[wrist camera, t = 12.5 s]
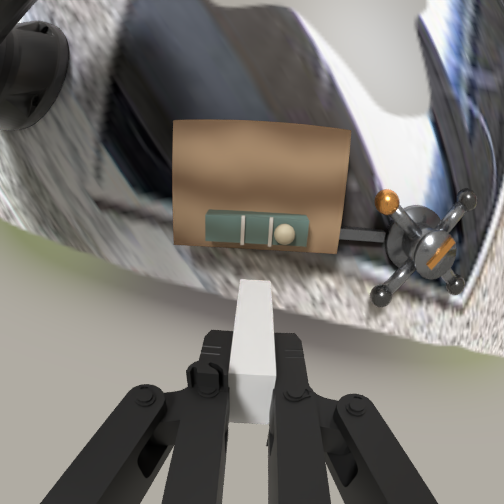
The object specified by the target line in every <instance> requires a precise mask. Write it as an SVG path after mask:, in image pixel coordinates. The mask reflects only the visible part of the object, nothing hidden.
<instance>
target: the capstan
mask: <svg viewBox="0 0 504 504" xmlns="http://www.w3.org/2000/svg"><path fill="white" fill-rule="evenodd" d="M476 204H477V197H476V194H475V193H474V192H473V191H472V190H471V189H468V188H465V189H462V190H460V191H459V193H458V195H457V202H456V203H455V205H454V206H453V207H452V208H451V209H450V211H449V212H448V213H447V214H446V216H445V217H444V218H443V219H442V220H441V222H440V223H439V224H438V225H437V226H436V227H435V229H434V228H433V227H431V226H430V225H428V224H426V223H423V222H418V223H415V222H414V221H413V220H412V218H411V217H410V216H409V215H408V214H407V213H406V211H405V210H404V209H403V208H402V207H401V206H400V205H399V198H398V196H397V194H396V193H395V192H394V191H392V190H389V189H384V190H381V191H380V192H378V194H377V195H376V197H375V206H376V208H377V210H378V211H379V212H380V213H382V214H384V215H389V216H390V217H391V218H392V219H393V220H394V221H395V222H396V224H397V225H398V226H399V227H400V228H401V229H402V230H403V231H404V232H405V233H404V235H403V238H402V250H403V252H404V254H405V255H406V256H407V257H408V259H407V260H406V261H405V262H404V263H403V264H402V265H401V266H400V267H399V268H398V269H397V270H396V272H395V273H394V274H393V275H392V276H391V277H390V278H389V279H388V280H387V281H386V282H385V283H384V284H383V285H382V284H380V285H377V286H375V287H374V288H373V289H372V290H371V293H370V300H371V302H372V303H373V305H375V306H377V307H385V306H387V305H388V304H389V303H390V301H391V299H392V294H393V293H394V292H395V291H396V290H397V289H398V288H399V287H400V286H401V285H402V284H403V283H404V282H405V281H406V280H407V279H408V278H409V277H410V276H411V275H412V274H413V273H414V272H415V270H417V272H418V273H419V274H420V275H421V276H422V277H424V278H426V279H436V278H439V277H442V278H443V279H444V281H445V282H446V289H447V291H448V292H449V293H450V294H452V295H458V294H460V293H461V292H462V291H463V289H464V286H465V283H464V280H463V278H462V277H461V276H460V275H458V274H455V273H454V272H453V270H452V269H451V266H452V264H453V262H454V260H455V257H456V243H455V241H454V239H453V237H452V236H451V235H450V234H448V233H449V232H450V231H451V230H452V229H453V227H454V226H455V225H456V224H457V223H458V221H459V220H460V219H461V218H462V216H463V215H464V214H465V213H466V211H471V210H473V209H474V208H475V206H476Z"/></svg>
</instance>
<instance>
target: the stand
mask: <svg viewBox="0 0 504 504" xmlns="http://www.w3.org/2000/svg"><path fill="white" fill-rule="evenodd" d="M350 140H351V130H345V129H338V128H330V127H322V126H314V125H304V124H294V123H282V122H267V121H248V120H173V157H172V194H173V235H174V245H188V246H207V247H225V248H243V249H260V250H278V251H296V252H313V253H330V254H337V248H338V242H339V235H340V228H341V221H342V214H343V206H344V198H345V190H346V181H347V172H348V162H349V151H350Z"/></svg>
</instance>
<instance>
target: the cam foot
mask: <svg viewBox="0 0 504 504" xmlns="http://www.w3.org/2000/svg"><path fill="white" fill-rule="evenodd" d="M404 210H405V211H406V213H407V214H408V215H409V216H410V217H411V218H412V220H413V221H414V222H415V223H418V222H423V223H426V224H428V225H430V226H431V227H433V228H434V229H435V227H436V226H437V225H438V224H439V223H440V222H441V220H440V218H439V217H438V215H437V214H436V213H435V212H434V211H432V210H430V209H428V208H427V207H424V206H421V205H412V206H408V207H406V208H404ZM385 233H386V234H385ZM404 233H405V232H404V231H403V230H402V229H401V228H400V227H399V226H398V225H397V224H396V222H395V221H394V220H393V219H392V220H391V222H390V223H389V225H388V228H387V230H386V232H385V231H384V230H381V229H370V228H358V227H346V226H341V228H340V235H339V239H344V240H358V241H372V242H384V238H385V249H386V252H387V255H388V256H389V258H390V259H391V261H392V262H393V263H394V264H395V265H396V266H397V267H400V266H401V265H402V264H403V263H404V262H405V261H406V260H407V259H408V257H407V256H406V255H405V254H404V252H403V250H402V238H403V235H404ZM415 271H416V270H415Z"/></svg>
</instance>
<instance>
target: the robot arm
mask: <svg viewBox="0 0 504 504" xmlns="http://www.w3.org/2000/svg"><path fill="white" fill-rule="evenodd" d="M36 1H37V0H0V129H2V130H8V131H10V130H20V129H24V128H27V127H29V126H31V125H33V124H35V123H36V122H37V121H38V120H40V119H41V118H42V117H43V116H44V115H45V113H46V112H47V111H48V110H49V108H50V107H51V106H52V104H53V102H54V101H55V99H56V97H57V95H58V93H59V91H60V89H61V87H62V84H63V81H64V78H65V75H66V71H67V65H68V45H67V41H66V38H65V36H64V34H63V32H62V31H61V30H60V29H59V28H58V27H56V26H55V25H52V24H49V23H47V22H43V21H30V22H23V23H18V22H19V21H20V19H21V18H22V17H23V16H24V15H25V13H26V12H27V11H28V10H29V9H30V8H31V7H32V6H33V5H34V3H35V2H36ZM186 375H187V383H188V387H187V388H185V389H183V390H181V391H175V392H167V393H163V391H162V390H161V389H160V388H158V387H156V386H154V385H149V384H144V385H139V386H136V387H134V388H132V389H131V390H130V391H129V392H128V393H127V394H126V396H125V397H124V398H123V399H122V401H121V402H120V403H119V405H118V406H117V407H116V408H115V409H114V411H113V412H112V413H111V414H110V416H109V417H108V418H107V419H106V421H105V422H104V423H103V424H102V426H101V427H100V428H99V429H98V431H97V432H96V433H95V434H94V436H93V437H92V438H91V440H90V441H89V442H88V443H87V445H86V446H85V447H84V448H83V450H82V451H81V452H80V453H79V455H78V456H77V457H76V459H75V460H74V461H73V462H72V464H71V465H70V466H69V467H68V469H67V470H66V471H65V472H64V474H63V475H62V476H61V477H60V479H59V480H58V481H57V483H56V484H55V485H54V487H53V488H52V489H51V490H50V491H49V493H48V494H47V495H46V497H45V498H44V499H43V501H42V502H41V503H40V504H140V503H141V501H142V499H143V498H144V496H145V494H146V493H147V491H148V489H149V487H150V486H151V484H152V482H153V481H154V479H155V477H156V476H157V474H158V472H159V470H160V469H161V467H162V465H163V464H164V462H165V460H166V458H167V457H168V455H169V453H170V451H171V450H172V448H173V446H174V450H173V454H172V459H171V463H170V468H169V472H168V476H167V481H166V486H165V490H164V495H163V500H162V504H222V495H223V485H224V474H225V463H226V451H227V441H228V423H229V422H234V423H252V424H269V434H268V440H267V445H266V446H268V495H269V496H268V500H269V501H268V504H331V500H330V493H329V485H328V478H327V471H326V464H327V466H328V469H329V471H330V473H331V475H332V477H333V480H334V482H335V484H336V486H337V488H338V490H339V492H340V494H341V497H342V499H343V501H344V503H345V504H438V503H437V501H436V500H435V498H434V496H433V495H432V493H431V492H430V490H429V489H428V487H427V485H426V484H425V482H424V481H423V479H422V478H421V476H420V475H419V473H418V471H417V470H416V468H415V467H414V465H413V464H412V462H411V461H410V459H409V457H408V456H407V454H406V453H405V451H404V450H403V448H402V447H401V445H400V444H399V442H398V441H397V439H396V438H395V436H394V434H393V433H392V432H391V430H390V428H389V427H388V425H387V424H386V422H385V421H384V419H383V418H382V416H381V415H380V413H379V412H378V410H377V409H376V407H375V406H374V404H373V403H372V402H371V401H370V400H369V399H368V398H367V397H365V396H363V395H359V394H348V395H345V396H343V397H341V399H340V400H339V401H336V400H331V399H327V398H324V397H321V396H319V395H317V394H316V393H315V392H313V390H312V389H311V388H310V386H309V383H308V378H307V372H306V365H305V360H304V354H303V348H302V343H301V340H300V339H299V338H298V336H297V335H296V334H295V333H274V328H273V311H272V295H271V281H264V280H246V279H240V285H239V293H238V301H237V309H236V317H235V325H234V331H221V330H211V331H210V332H209V333H208V334H207V335H206V336H205V338H204V342H203V347H202V350H201V354H200V358H199V361H197V362H194V363H193V364H191V365H190V366H189V367H188V369H187V370H186ZM325 462H326V464H325Z"/></svg>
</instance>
